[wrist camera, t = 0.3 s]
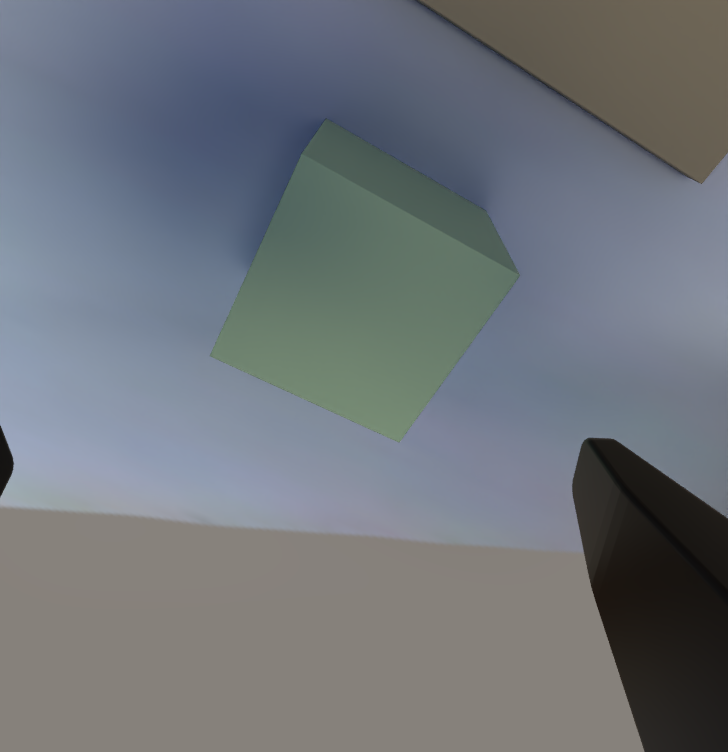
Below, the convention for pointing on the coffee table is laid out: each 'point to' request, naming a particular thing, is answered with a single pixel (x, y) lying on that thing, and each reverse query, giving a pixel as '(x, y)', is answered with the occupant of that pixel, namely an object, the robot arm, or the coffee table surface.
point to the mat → (621, 65)
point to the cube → (365, 285)
